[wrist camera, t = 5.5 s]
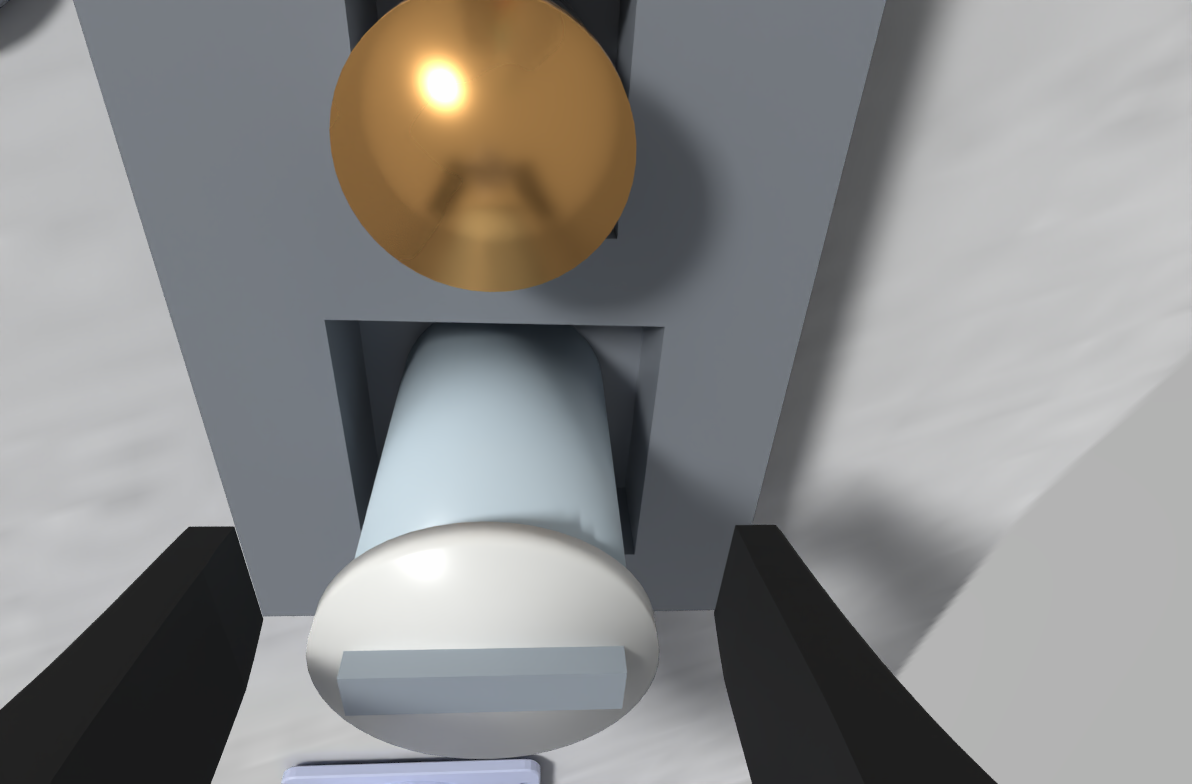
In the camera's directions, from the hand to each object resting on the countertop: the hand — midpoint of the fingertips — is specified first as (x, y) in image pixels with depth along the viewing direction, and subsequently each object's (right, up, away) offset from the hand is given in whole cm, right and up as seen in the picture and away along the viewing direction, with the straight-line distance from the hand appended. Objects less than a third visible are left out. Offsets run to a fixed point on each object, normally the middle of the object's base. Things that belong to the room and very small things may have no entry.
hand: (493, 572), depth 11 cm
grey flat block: (0, +5, +3) cm, 6 cm away
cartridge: (0, +3, +4) cm, 5 cm away
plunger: (0, +7, 0) cm, 7 cm away
